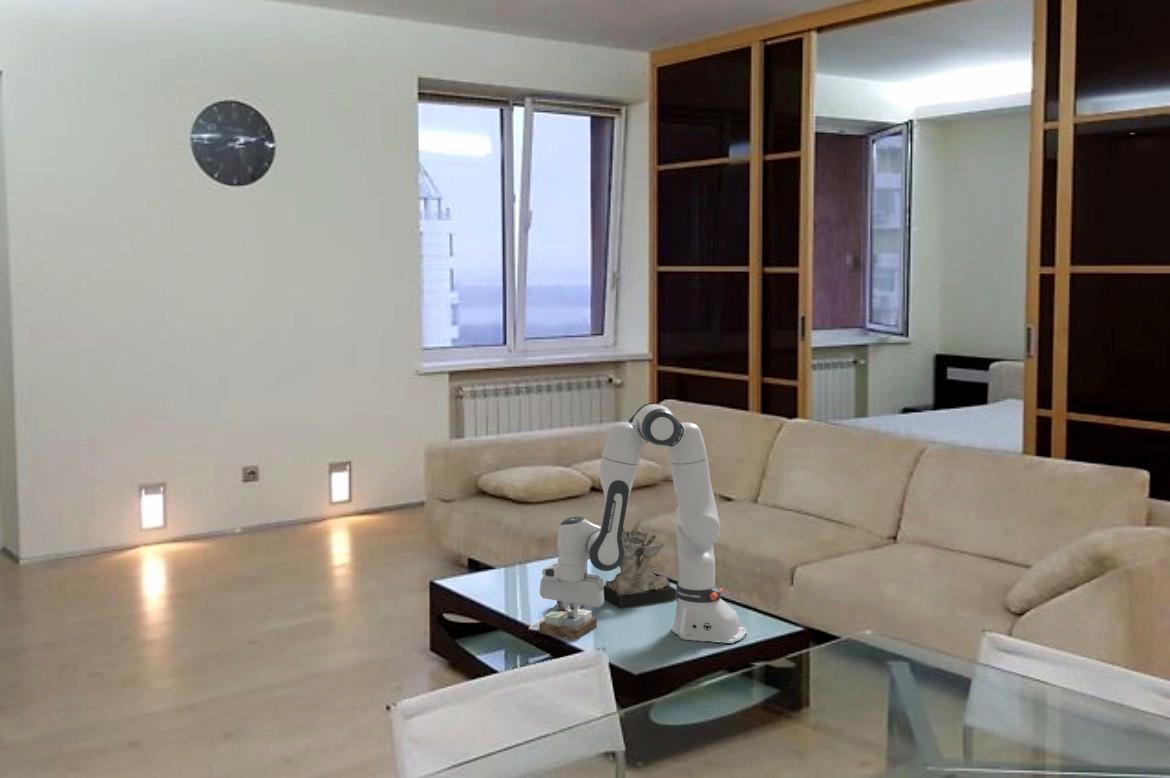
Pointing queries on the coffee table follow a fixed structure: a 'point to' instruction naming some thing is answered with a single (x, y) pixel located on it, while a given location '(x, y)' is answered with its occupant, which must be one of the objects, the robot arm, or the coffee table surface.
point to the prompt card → (536, 625)
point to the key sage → (554, 618)
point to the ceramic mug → (561, 607)
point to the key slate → (572, 622)
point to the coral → (637, 575)
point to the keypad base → (568, 629)
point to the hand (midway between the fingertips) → (571, 616)
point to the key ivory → (585, 615)
